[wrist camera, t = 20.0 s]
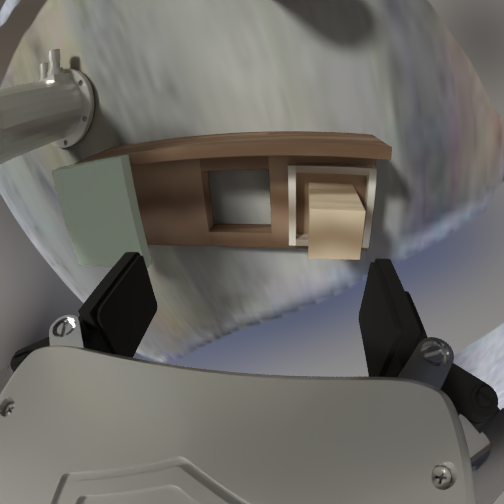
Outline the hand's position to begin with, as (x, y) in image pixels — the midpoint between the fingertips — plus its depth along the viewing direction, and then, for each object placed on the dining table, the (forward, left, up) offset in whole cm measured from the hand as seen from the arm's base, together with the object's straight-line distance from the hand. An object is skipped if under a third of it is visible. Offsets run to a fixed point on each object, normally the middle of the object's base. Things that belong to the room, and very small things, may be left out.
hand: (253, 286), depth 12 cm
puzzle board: (+5, -7, -25) cm, 27 cm away
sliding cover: (+4, -21, -17) cm, 27 cm away
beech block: (+5, +5, -23) cm, 24 cm away
